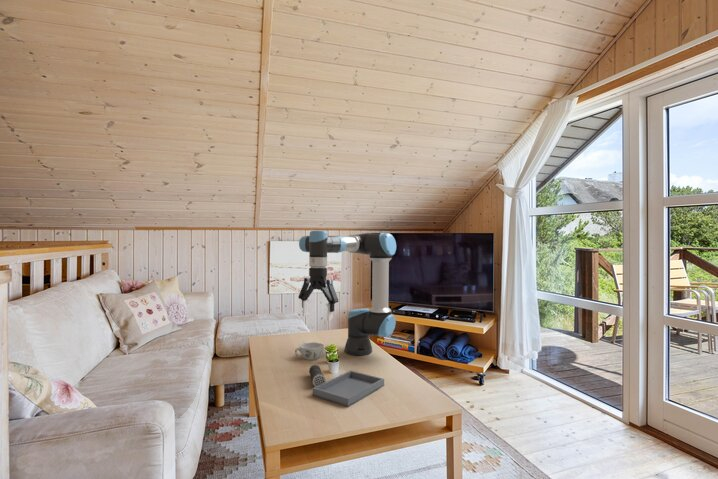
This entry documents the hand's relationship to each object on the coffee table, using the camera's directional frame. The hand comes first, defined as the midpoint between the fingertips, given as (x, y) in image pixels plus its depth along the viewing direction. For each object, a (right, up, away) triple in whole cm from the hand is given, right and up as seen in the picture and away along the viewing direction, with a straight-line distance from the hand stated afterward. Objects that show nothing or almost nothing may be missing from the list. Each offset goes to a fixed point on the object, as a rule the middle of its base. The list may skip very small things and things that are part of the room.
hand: (317, 317), depth 159 cm
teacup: (-9, -31, +39) cm, 50 cm away
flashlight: (-1, -32, +14) cm, 35 cm away
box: (+14, -30, -1) cm, 33 cm away
